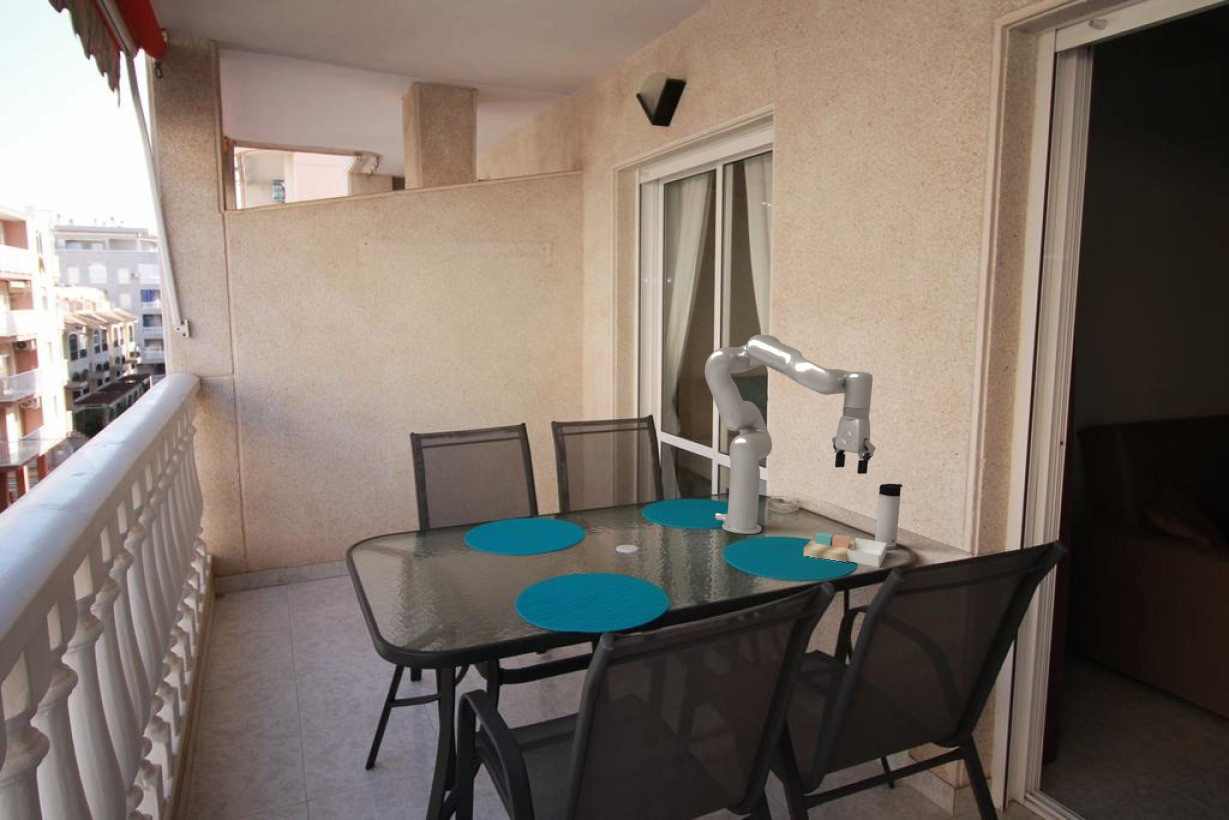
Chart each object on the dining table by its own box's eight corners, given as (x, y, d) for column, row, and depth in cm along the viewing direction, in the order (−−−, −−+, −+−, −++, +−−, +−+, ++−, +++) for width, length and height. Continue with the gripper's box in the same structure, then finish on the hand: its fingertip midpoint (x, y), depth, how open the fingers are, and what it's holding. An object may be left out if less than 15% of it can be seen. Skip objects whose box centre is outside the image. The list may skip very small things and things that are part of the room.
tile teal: (814, 543, 228) (815, 535, 228) (817, 539, 232) (818, 531, 232) (830, 545, 226) (830, 537, 226) (832, 542, 230) (833, 534, 230)
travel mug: (898, 551, 233) (904, 486, 231) (875, 549, 235) (881, 484, 233) (895, 545, 239) (900, 482, 237) (873, 543, 241) (878, 480, 239)
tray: (846, 562, 219) (847, 550, 218) (854, 549, 233) (855, 537, 233) (879, 567, 215) (880, 555, 215) (886, 554, 229) (887, 542, 229)
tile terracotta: (831, 546, 226) (832, 537, 226) (834, 542, 230) (835, 534, 230) (847, 548, 224) (848, 540, 224) (850, 545, 228) (850, 536, 228)
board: (803, 556, 223) (804, 547, 223) (815, 542, 239) (816, 534, 239) (846, 563, 218) (846, 554, 218) (855, 548, 234) (856, 540, 234)
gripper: (826, 409, 234) (821, 465, 236) (866, 417, 218) (861, 476, 220) (845, 410, 237) (840, 464, 239) (887, 417, 221) (881, 475, 223)
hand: (850, 470), depth 229 cm, fingers open, 9 cm apart
